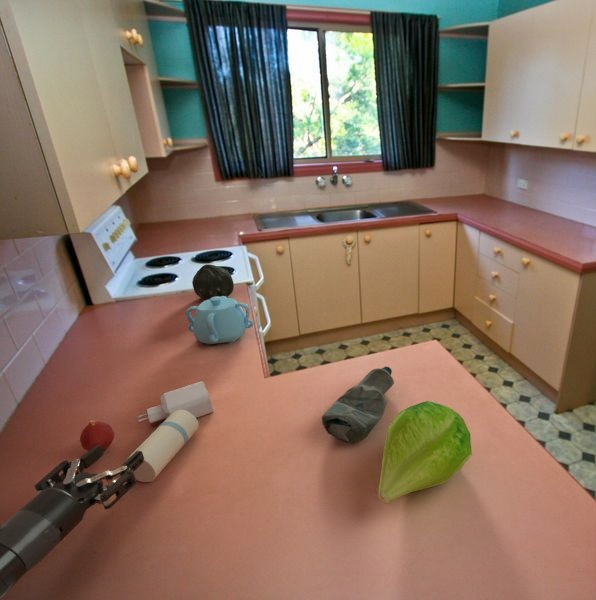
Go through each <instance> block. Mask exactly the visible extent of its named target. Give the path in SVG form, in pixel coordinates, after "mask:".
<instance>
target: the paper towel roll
mask: <svg viewBox="0 0 596 600" xmlns="http://www.w3.org/2000/svg"><path fill="white" fill-rule="evenodd" d="M198 429H199V421H198V419H197V418H195V416H194V415H192V414H191V413H190V412H188V411H185V410H176V411H174V412H173V413H172V414H171V415H170V416H169V417H168V418H167V419H166V418H165V419H164V421H163V422H162V423H160V424H159V425H158V426H157V428H156V429H155V430H154V431H152V433H151V434H150V435H148V437H147V438H146V439H145V440H143V442H141V444H139V446H138V447H137V448H135V450H133V452H132V453H131V454H130V455H128V456H127V458H126V459H125V460H124V463H125V462H126V461H127V460H128V459H129V458H130V457H131V456H132V455H133V454H134V453H135V452H136V451H142V453H143V456H144V462H143V463H142V464H141V465H140V466H139V467H138V468H137V469H136V470H135V471H134V475H135V478H136V480H137V482H141V483H150V482H153V481H154V480H156V478H157V477H158V475H159V474H160V473H161V472H162V471H163V470H164V469H165V467H166V466H167V465H168V464H169V463H170V462H171V461H172V459H173V458H174V457H175V456H176V455H177V454H178V453H179V451H180V450H181V449H182V448H183V447H184V446H185V445H186V444H187V443H188V441H189V440H190V439H191V438H192V436H193V435H194V434H195V433H196V432H197V431H198Z"/></svg>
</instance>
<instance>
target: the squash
mask: <svg viewBox="0 0 596 600" xmlns="http://www.w3.org/2000/svg"><path fill="white" fill-rule="evenodd" d="M191 282H192V283H191V285H192V287H193V291H194V293H195V295H196V296H197V297H198V298H200V300H202V301H203V302H204V301H206V300H209V299H210V298H212V297H217V296H218V297H221V296H226V297H228V296H230V295H232V293H233V291H234V288H235V284H234V280H233V277H232V275H231V274H230V272H229V271H228V270H227V269H226V268H223V267H220V266H217V265H214V264H209V263H207V264H204V265H202V266H201V267H200V268H199V269H198V270H197V272H195V275H194V276H193V277H192V281H191Z"/></svg>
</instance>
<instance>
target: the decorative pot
mask: <svg viewBox="0 0 596 600" xmlns="http://www.w3.org/2000/svg"><path fill="white" fill-rule="evenodd" d="M244 309H245V311H244ZM192 311H196V312H195V315H194V317H192V314H191V312H192ZM250 314H251V309H250V307H249V305H248V304H247V303H245V302H238V301H237V300H236V299H235V298H232V297H228V296H221V297H218V296H217V297H212V298H210V299H209V300H206V301H204V300H203V301H202V302H201V303H200V304H199V305H192V306H190V307H188V308H187V309H186V311H185V316H186V318H187V320H188V322H189V323H190V324H188V326H187V329H188V331H189V332H191V333H193V335H194V338H195V339H196V340H198V341H199V342H200V343H203V344H206V345H214V344H223V343H228V344H231V343H235V342H236V341H237V340H238V339H239V338H241V337H242V336H243V335H244V333H245V331H246V329H250V328H252V327H253V326H254V321H253V320H252V319H249V318H250Z"/></svg>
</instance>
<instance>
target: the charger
mask: <svg viewBox="0 0 596 600" xmlns="http://www.w3.org/2000/svg"><path fill="white" fill-rule="evenodd" d="M159 398H160V402H161V404H158V405H155V406H152V407H148V408H146V413H144V414H143V413H142V414H140V415H138V416H137V422H138V423H141V422H144V421H147V420H148V421H149V424H153V423H156V422H159V421H162V420H166V419H167V418H168V417H169V416H170V415H171V414H172V413H173V412H174V411H176V410H185V411H188V412H190V413H191V414H192V415H194V416H195V418H196V419H197V418H200V417H203V416H206V415H208V414H211V413H214V409H213V404H212V399H211V397H210V395H209V392H208V389H207V388H206V385H205V383H204V381H203V380H202V381H198V382H193V383H192V384H189V385H186V386H182V387H180V388H176V389H173V390H169V391H166V392H163V394H162V395H161V396H160V397H159ZM143 417H144V418H143Z"/></svg>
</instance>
